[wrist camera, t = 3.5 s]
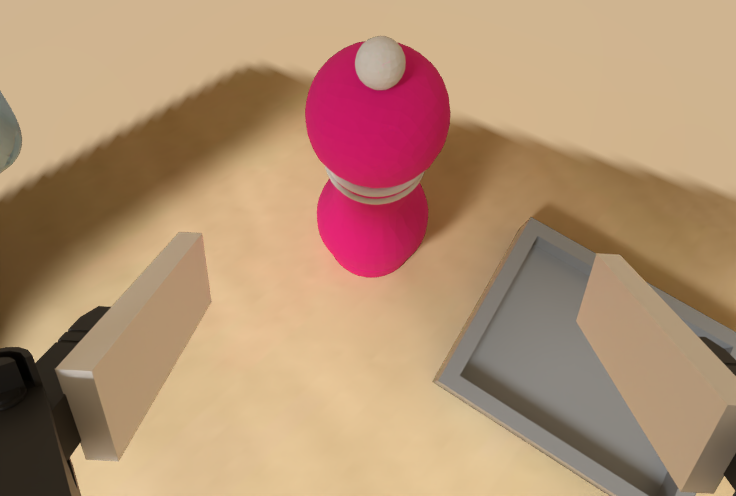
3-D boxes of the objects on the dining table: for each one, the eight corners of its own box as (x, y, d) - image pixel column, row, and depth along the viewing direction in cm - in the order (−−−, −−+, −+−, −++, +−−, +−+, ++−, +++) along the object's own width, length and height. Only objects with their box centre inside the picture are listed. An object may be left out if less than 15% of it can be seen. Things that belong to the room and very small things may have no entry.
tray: (432, 381, 32) (438, 380, 29) (519, 229, 35) (531, 216, 33) (653, 524, 29) (679, 536, 27) (724, 345, 32) (753, 342, 30)
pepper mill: (351, 177, 36) (337, -66, 17) (436, 217, 35) (522, 9, 16) (304, 256, 34) (230, 84, 15) (393, 302, 33) (433, 180, 14)
